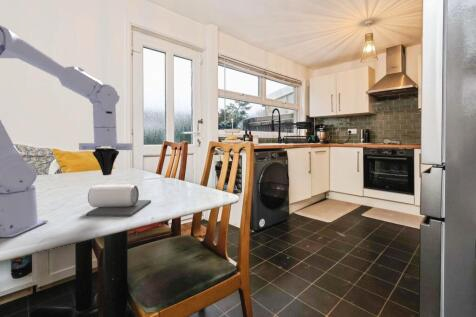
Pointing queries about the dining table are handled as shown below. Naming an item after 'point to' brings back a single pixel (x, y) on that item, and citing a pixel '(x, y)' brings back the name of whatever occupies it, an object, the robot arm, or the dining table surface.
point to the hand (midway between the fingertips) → (107, 174)
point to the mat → (119, 210)
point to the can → (113, 195)
